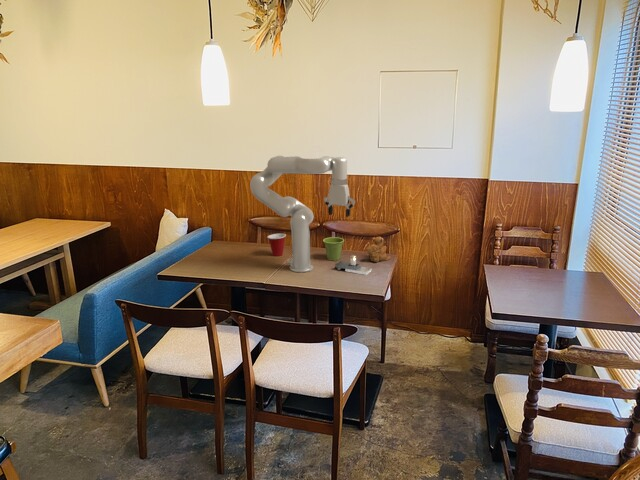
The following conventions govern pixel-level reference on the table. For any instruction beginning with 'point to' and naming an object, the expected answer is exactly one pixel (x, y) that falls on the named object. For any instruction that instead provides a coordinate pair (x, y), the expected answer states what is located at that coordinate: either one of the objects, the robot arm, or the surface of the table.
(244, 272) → the table surface
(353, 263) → the steel pin
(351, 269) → the gray white flat block
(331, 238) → the plant pot
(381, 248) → the teddy bear
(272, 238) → the plastic cup
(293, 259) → the robot arm
